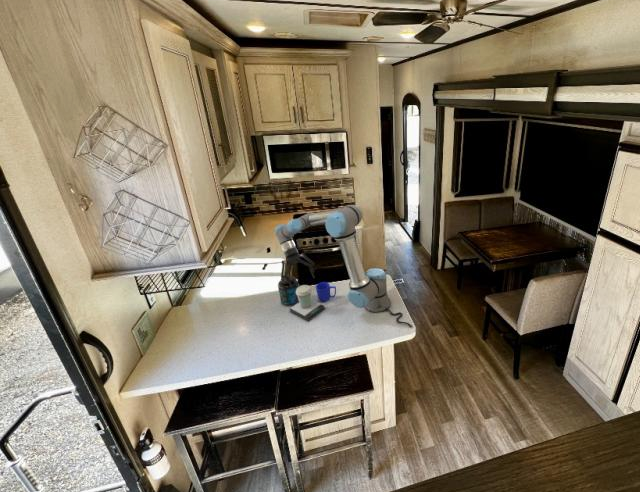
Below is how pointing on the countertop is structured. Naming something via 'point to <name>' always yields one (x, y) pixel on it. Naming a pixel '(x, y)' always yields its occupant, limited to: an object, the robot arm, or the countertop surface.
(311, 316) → the scale
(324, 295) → the mug
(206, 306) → the countertop surface
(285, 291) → the container
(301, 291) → the coffee cup
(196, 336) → the countertop surface
